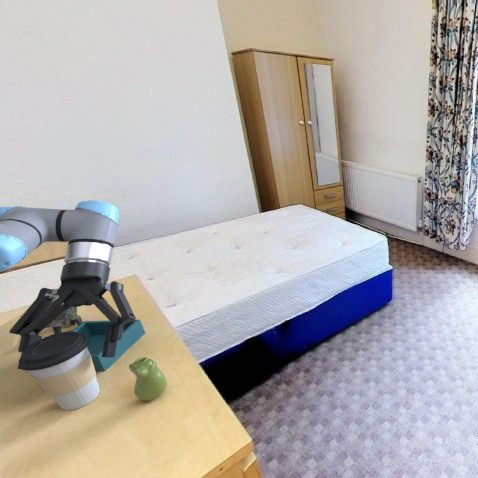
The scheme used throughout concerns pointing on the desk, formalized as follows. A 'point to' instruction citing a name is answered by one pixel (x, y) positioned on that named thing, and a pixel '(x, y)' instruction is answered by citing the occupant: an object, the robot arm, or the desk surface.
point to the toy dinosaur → (65, 319)
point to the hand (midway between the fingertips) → (68, 362)
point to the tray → (97, 337)
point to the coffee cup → (63, 368)
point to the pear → (147, 379)
